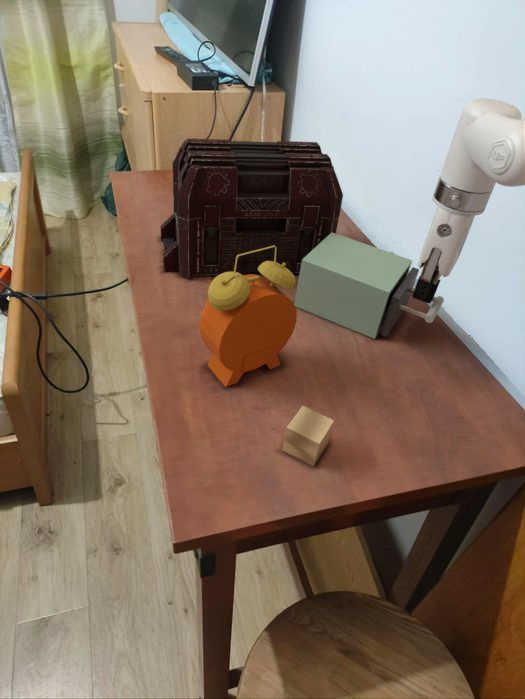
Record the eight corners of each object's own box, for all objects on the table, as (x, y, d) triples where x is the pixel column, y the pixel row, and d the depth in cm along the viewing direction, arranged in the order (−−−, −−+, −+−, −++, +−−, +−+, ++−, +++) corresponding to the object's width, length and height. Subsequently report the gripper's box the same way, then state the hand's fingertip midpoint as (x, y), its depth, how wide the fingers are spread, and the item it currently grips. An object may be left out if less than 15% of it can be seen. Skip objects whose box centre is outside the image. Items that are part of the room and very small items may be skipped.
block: (327, 443, 68) (334, 420, 65) (313, 466, 65) (319, 443, 62) (297, 428, 70) (302, 405, 67) (281, 450, 67) (286, 427, 64)
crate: (318, 231, 115) (334, 134, 102) (344, 274, 100) (367, 168, 87) (160, 232, 108) (155, 129, 95) (164, 279, 93) (159, 165, 80)
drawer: (437, 317, 92) (452, 281, 87) (420, 350, 84) (435, 312, 79) (335, 278, 98) (343, 242, 93) (309, 305, 91) (317, 268, 86)
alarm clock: (267, 340, 83) (283, 229, 71) (289, 362, 80) (310, 250, 67) (196, 366, 77) (199, 249, 64) (217, 391, 73) (224, 273, 60)
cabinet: (397, 304, 95) (412, 260, 89) (374, 339, 87) (389, 292, 80) (322, 276, 100) (331, 232, 94) (293, 305, 92) (301, 259, 85)
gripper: (477, 221, 67) (432, 329, 79) (496, 186, 77) (454, 286, 89) (422, 203, 69) (386, 311, 81) (448, 172, 80) (413, 272, 92)
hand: (422, 298), depth 85 cm, fingers closed
